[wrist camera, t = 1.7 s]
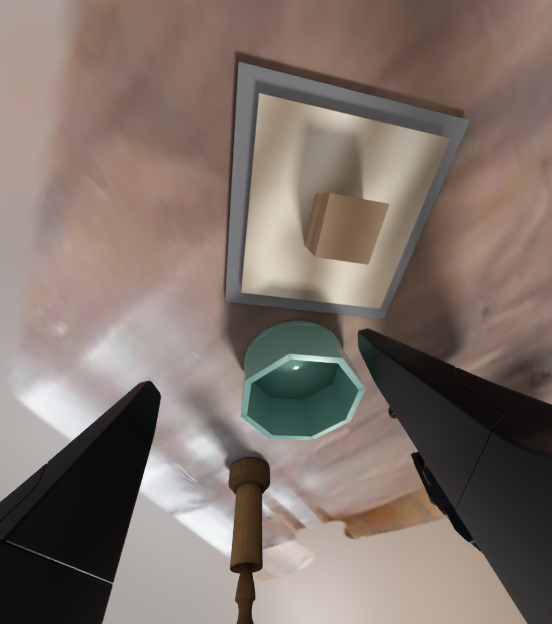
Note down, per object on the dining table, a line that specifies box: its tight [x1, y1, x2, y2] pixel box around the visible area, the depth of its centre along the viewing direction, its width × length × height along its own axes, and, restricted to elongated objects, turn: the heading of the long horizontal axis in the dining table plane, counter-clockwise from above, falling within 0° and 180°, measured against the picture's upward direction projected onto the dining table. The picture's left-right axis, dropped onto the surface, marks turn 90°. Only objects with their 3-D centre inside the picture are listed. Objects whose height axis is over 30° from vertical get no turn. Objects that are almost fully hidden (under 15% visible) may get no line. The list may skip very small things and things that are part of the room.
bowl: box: [241, 320, 366, 440], centre depth 24 cm, size 12×12×6 cm
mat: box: [225, 62, 470, 319], centre depth 19 cm, size 17×17×1 cm
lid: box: [241, 93, 450, 309], centre depth 17 cm, size 14×14×5 cm
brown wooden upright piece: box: [229, 458, 270, 624], centre depth 29 cm, size 7×6×18 cm
